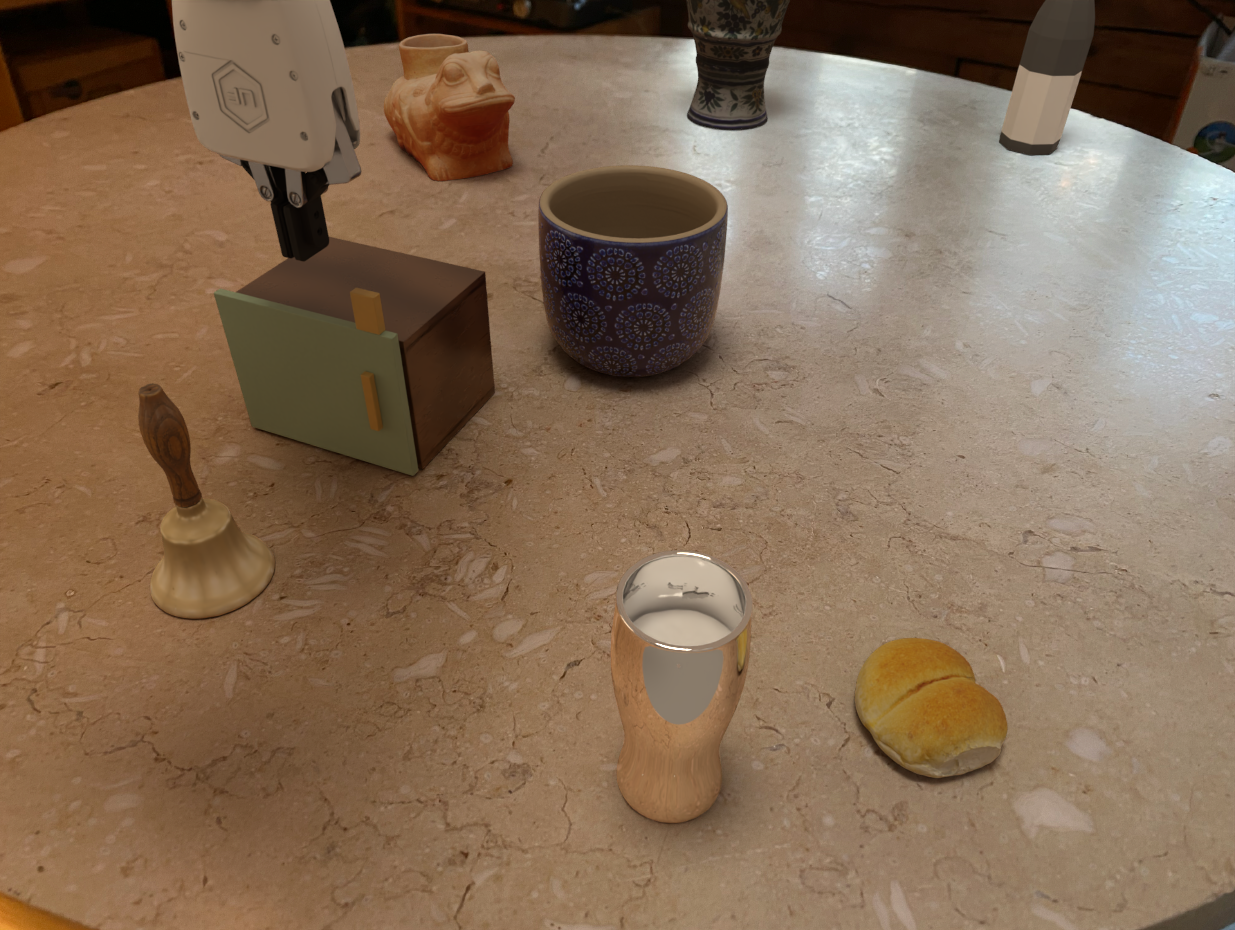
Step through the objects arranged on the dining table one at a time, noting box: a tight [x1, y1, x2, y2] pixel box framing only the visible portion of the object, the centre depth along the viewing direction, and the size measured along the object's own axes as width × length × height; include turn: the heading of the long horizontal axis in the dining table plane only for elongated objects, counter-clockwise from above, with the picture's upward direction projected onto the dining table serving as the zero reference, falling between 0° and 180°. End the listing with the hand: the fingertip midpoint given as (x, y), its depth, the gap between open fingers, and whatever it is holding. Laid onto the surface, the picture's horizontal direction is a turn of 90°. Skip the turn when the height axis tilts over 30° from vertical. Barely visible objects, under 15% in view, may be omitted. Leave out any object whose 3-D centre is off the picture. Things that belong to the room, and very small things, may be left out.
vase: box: [685, 0, 791, 131], centre depth 133 cm, size 17×17×30 cm
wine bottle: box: [998, 0, 1096, 156], centre depth 125 cm, size 8×8×30 cm
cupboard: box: [235, 236, 496, 470], centre depth 78 cm, size 12×16×12 cm
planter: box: [537, 164, 729, 378], centre depth 86 cm, size 17×16×15 cm
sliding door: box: [213, 288, 419, 477], centre depth 72 cm, size 1×16×16 cm, turn 67°
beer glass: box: [609, 549, 754, 824], centre depth 49 cm, size 7×7×15 cm
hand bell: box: [137, 383, 276, 620], centre depth 61 cm, size 8×8×16 cm
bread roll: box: [854, 637, 1008, 779], centre depth 56 cm, size 8×9×4 cm
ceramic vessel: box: [383, 33, 516, 182], centre depth 124 cm, size 14×26×15 cm, turn 30°
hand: (306, 251), depth 65 cm, fingers closed
